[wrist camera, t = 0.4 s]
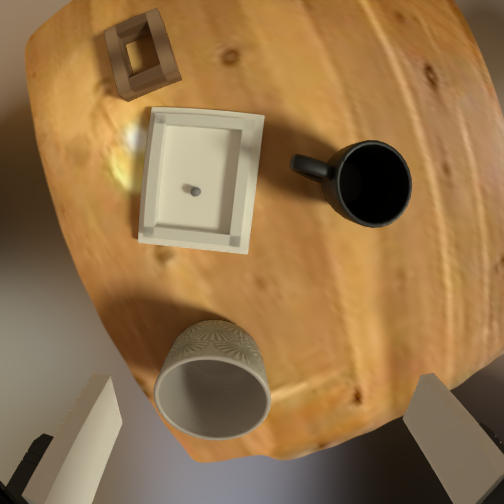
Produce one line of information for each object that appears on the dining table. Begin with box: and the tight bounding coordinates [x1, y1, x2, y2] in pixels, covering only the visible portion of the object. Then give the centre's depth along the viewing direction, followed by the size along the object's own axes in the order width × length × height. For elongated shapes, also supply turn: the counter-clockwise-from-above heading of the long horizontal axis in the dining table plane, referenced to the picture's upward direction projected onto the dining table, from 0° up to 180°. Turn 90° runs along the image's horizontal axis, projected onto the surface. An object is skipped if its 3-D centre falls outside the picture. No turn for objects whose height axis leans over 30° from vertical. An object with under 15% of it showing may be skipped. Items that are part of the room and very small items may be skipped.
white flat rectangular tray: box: [138, 107, 265, 254], centre depth 33 cm, size 16×13×3 cm
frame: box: [104, 8, 182, 102], centre depth 29 cm, size 10×7×4 cm
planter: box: [154, 320, 271, 440], centre depth 34 cm, size 12×12×11 cm
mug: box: [290, 140, 412, 228], centre depth 30 cm, size 8×12×10 cm
